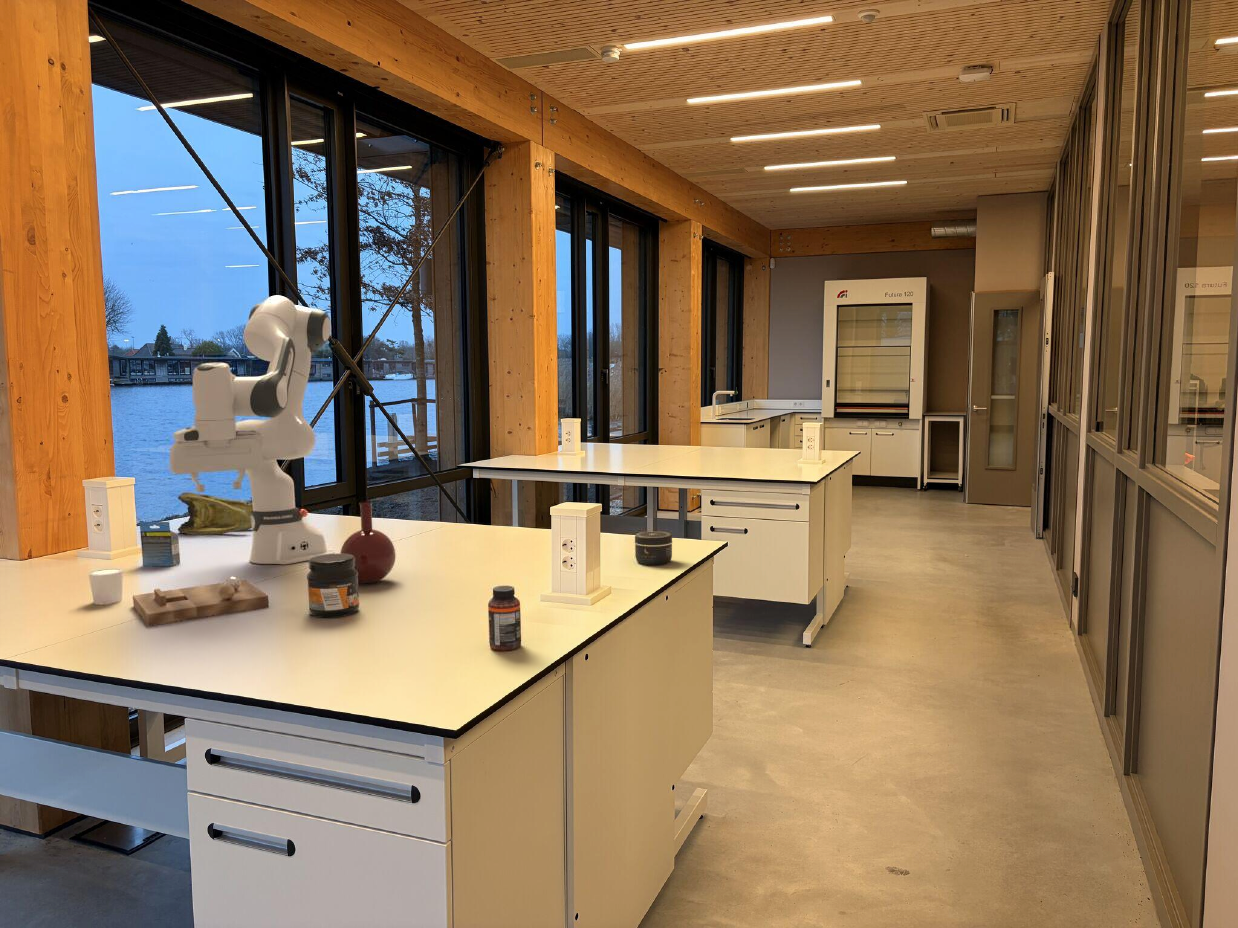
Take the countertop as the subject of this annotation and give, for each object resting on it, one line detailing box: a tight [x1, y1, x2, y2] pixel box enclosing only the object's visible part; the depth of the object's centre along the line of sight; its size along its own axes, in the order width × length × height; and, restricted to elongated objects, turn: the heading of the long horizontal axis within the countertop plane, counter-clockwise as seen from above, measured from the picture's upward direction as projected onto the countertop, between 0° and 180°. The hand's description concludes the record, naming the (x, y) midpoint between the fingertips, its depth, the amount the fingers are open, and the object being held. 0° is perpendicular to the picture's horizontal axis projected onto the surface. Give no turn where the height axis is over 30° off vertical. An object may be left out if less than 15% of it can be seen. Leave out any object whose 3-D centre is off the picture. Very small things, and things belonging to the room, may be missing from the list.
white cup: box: [88, 568, 124, 606], centre depth 206 cm, size 7×7×7 cm
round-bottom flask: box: [339, 500, 397, 584], centre depth 220 cm, size 13×13×20 cm
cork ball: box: [219, 585, 235, 600], centre depth 196 cm, size 3×3×3 cm
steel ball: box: [225, 576, 241, 590], centre depth 204 cm, size 3×3×3 cm
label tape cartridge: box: [139, 521, 181, 567], centre depth 244 cm, size 9×4×12 cm, turn 84°
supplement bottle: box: [487, 585, 522, 652], centre depth 167 cm, size 6×6×11 cm
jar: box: [634, 530, 673, 567], centre depth 238 cm, size 10×10×8 cm
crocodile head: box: [177, 492, 253, 535], centre depth 294 cm, size 27×17×15 cm
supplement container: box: [306, 553, 360, 619], centre depth 193 cm, size 10×10×12 cm
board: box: [132, 579, 270, 627], centre depth 200 cm, size 24×20×4 cm
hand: (219, 490), depth 212 cm, fingers open, 7 cm apart
